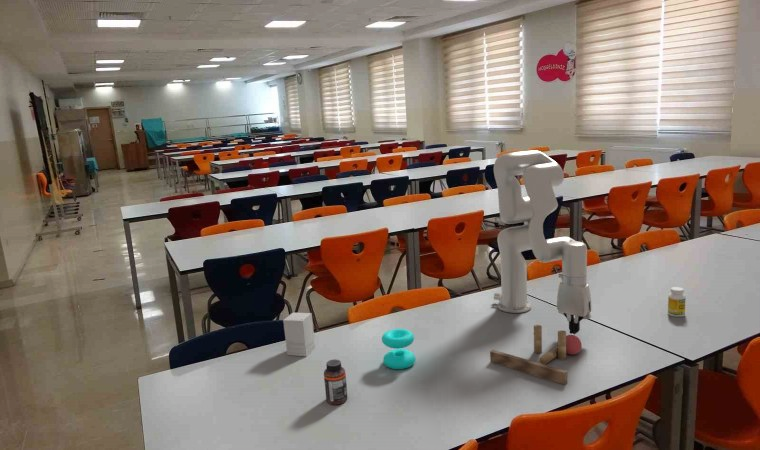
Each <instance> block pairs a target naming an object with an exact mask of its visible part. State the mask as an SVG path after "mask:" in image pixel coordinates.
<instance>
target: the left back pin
mask: <svg viewBox="0 0 760 450" xmlns="http://www.w3.org/2000/svg"><path fill="white" fill-rule="evenodd" d="M542 327H543V326H542V325H540V324H534V325H533V352H534V353H536V354H541V353H543V344H542V343H543V331H542V330H543V328H542Z"/></svg>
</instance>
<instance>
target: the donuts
mask: <svg viewBox="0 0 760 450" xmlns="http://www.w3.org/2000/svg"><path fill="white" fill-rule="evenodd" d="M414 340H415V336H414V334H413V332H412V331H410V330H409V329H405V328H393V329H390V330H387V331H385V332H384V333H383V334H382V337H381V341H382V342H381V343H382V344H383V345H385V346H386V347H387V348H391V349H392V350H390V351H387V352H386V353H385V354H384V355H383V356H384V357H383V358H382V359H383V364H384V365H385V366H386V367H388V368H389V369H393V370H405V369H408V368H411V366H413V365H414V364H415V362H416V355H415V354H414V353H413V351H411V350H408V349H405V348H407V347H409V346H411V344H413V342H414Z"/></svg>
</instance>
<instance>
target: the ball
mask: <svg viewBox="0 0 760 450" xmlns="http://www.w3.org/2000/svg"><path fill="white" fill-rule="evenodd" d="M582 347H583V346H582V341H581V339H580V338H579V337H578V336H576V334H566V355H567V354H568V355H577V354H578V353H579V352H581V349H582Z"/></svg>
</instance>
